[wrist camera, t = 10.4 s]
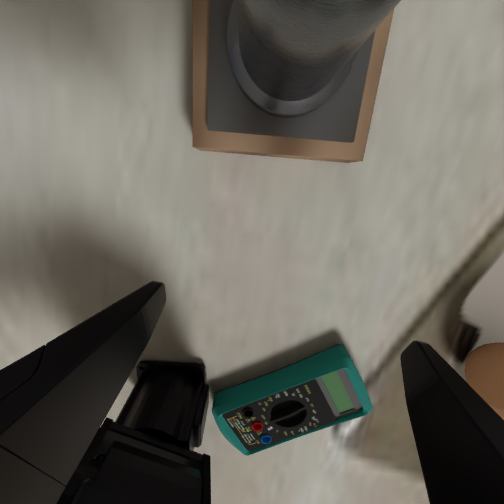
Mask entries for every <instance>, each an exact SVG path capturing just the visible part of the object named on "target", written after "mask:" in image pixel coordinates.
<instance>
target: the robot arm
mask: <svg viewBox="0 0 504 504" xmlns="http://www.w3.org/2000/svg"><path fill="white" fill-rule="evenodd" d="M165 302H166V293H165V285H164V283H162V282H157V281H151V282H149V283H148V284H146V285H144V286H143V287H141V288H139V289H138V290H136V291H134V292H133V293H131V294H129V295H128V296H126V297H124V298H122V299H121V300H119V301H117V302H116V303H114V304H112V305H111V306H109V307H107V308H106V309H104V310H102V311H101V312H99V313H97V314H95V315H94V316H92V317H90V318H89V319H87V320H85V321H84V322H82V323H80V324H79V325H77V326H75V327H74V328H72V329H70V330H69V331H67V332H65V333H63V334H62V335H60V336H58V337H57V338H55V339H53V340H52V341H50V342H48V343H47V344H46V346H45V345H43V346H41V347H40V348H38V349H36V350H35V351H33V352H31V353H30V354H28V355H26V356H24V357H23V358H21V359H19V360H17V361H16V362H14V363H12V364H10V365H9V366H7V367H5V368H3V369H1V370H0V504H211V478H210V456H209V455H206V454H203V455H202V454H200V453H197V452H194V451H193V450H194V447H199V446H200V445H201V443H202V438H203V432H204V427H205V421H206V415H207V410H208V403H209V386H208V384H205V366H204V365H203V364H196V363H177V362H159V361H140V362H139V363H138V365H137V379H138V381H137V383H136V384H135V386H134V388H133V390H132V392H131V394H130V395H129V397H128V399H127V401H126V403H125V405H124V407H123V408H122V410H121V412H120V414H119V416H118V418H117V419H116V421H115V422H113V420H112V419H109V418H106V419H105V417H106V415H107V414H108V412H109V410H110V408H111V407H112V405H113V403H114V401H115V400H116V398H117V396H118V394H119V393H120V391H121V389H122V387H123V386H124V384H125V382H126V380H127V379H128V377H129V375H130V373H131V372H132V370H133V368H134V366H135V365H136V363H137V361H138V359H139V358H140V356H141V354H142V352H143V351H144V349H145V347H146V345H147V343H148V341H149V339H150V337H151V335H152V332H153V330H154V328H155V326H156V323H157V321H158V319H159V316H160V314H161V312H162V309H163V307H164V305H165ZM142 366H143V367H142ZM401 367H402V374H403V382H404V389H405V397H406V403H407V408H408V413H409V417H410V421H411V425H412V430H413V434H414V438H415V442H416V447H417V451H418V455H419V459H420V463H421V468H422V472H423V476H424V480H425V485H426V489H427V493H428V497H429V502H430V504H504V420H503V419H502V418H501V417H500V416H499V415H498V414H497V413H496V412H495V411H494V410H493V409H492V408H491V407H490V406H489V405H488V404H487V403H486V402H485V400H484V399H483V398H482V397H481V396H480V395H479V394H478V393H477V392H476V391H475V390H474V389H473V388H472V387H471V386H470V385H469V384H468V383H467V382H466V381H465V380H464V379H463V378H462V377H461V376H460V375H459V374H458V373H457V372H456V371H455V370H454V369H453V368H452V367H451V366H450V365H449V364H448V363H447V362H446V361H445V360H444V359H443V358H442V357H441V356H440V355H439V354H438V353H437V352H436V351H435V350H434V349H433V348H432V347H431V346H430V345H429V344H428V343H425V342H421V341H413V342H411V343H410V344H409V346H408V347H407V348H406V349H405V350H404V351H403V352H402V354H401ZM199 369H201V370H199ZM104 419H105V421H104ZM103 421H104V422H103ZM102 422H103V424H102ZM101 424H102V426H101ZM100 426H101V427H100Z"/></svg>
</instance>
